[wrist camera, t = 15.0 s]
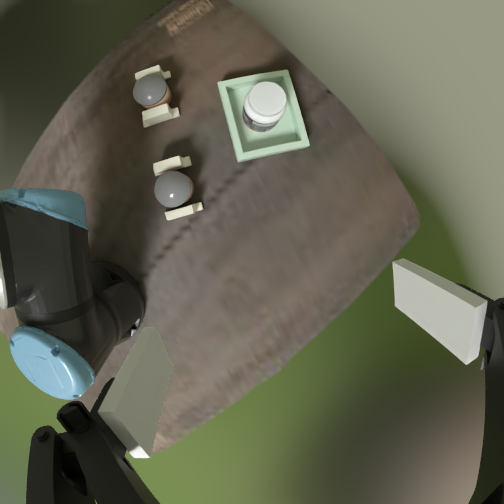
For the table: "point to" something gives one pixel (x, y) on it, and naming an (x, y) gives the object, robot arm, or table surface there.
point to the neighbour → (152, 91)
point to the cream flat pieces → (173, 163)
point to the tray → (270, 142)
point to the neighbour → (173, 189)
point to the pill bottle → (264, 106)
